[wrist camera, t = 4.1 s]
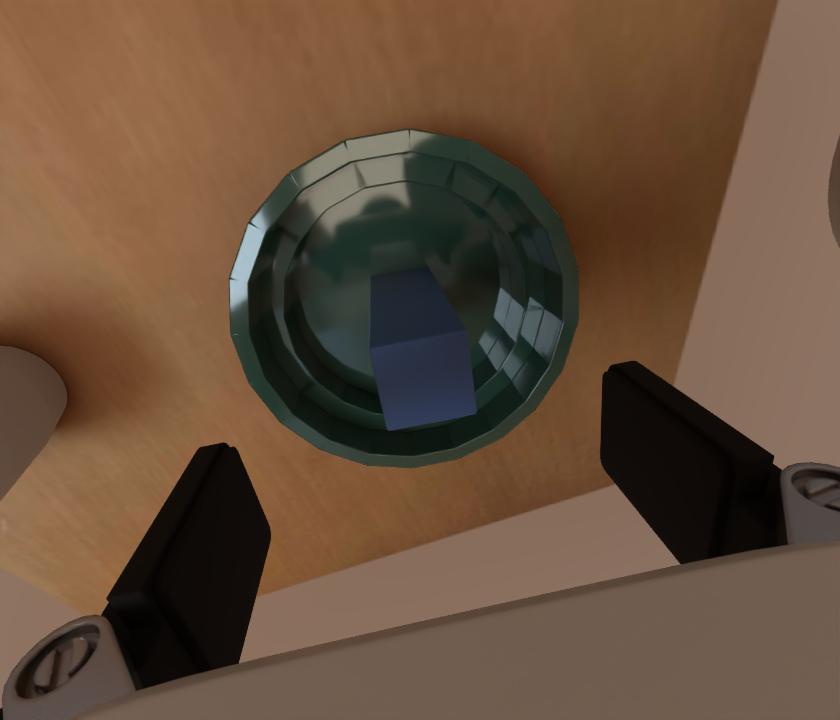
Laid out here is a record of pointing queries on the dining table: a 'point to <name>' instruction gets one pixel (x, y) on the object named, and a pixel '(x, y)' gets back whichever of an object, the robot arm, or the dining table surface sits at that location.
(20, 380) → the cup
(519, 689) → the robot arm
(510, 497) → the dining table surface
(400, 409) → the block
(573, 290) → the green bowl
